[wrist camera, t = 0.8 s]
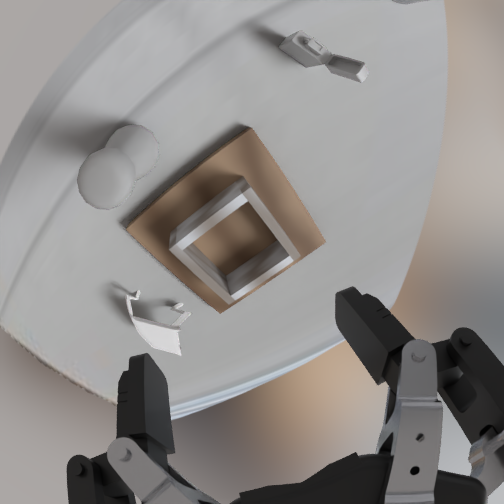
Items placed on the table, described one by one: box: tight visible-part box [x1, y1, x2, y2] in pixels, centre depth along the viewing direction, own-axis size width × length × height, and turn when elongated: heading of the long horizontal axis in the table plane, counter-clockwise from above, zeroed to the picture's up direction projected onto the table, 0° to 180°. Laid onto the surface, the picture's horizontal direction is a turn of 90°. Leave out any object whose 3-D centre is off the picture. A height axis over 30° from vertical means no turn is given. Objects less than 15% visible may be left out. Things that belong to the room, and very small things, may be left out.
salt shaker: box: [77, 125, 159, 210], centre depth 21 cm, size 6×6×13 cm
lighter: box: [279, 30, 370, 83], centre depth 21 cm, size 7×2×8 cm, turn 57°
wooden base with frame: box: [126, 127, 326, 314], centre depth 32 cm, size 18×18×6 cm
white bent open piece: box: [125, 291, 191, 356], centre depth 36 cm, size 12×8×5 cm
